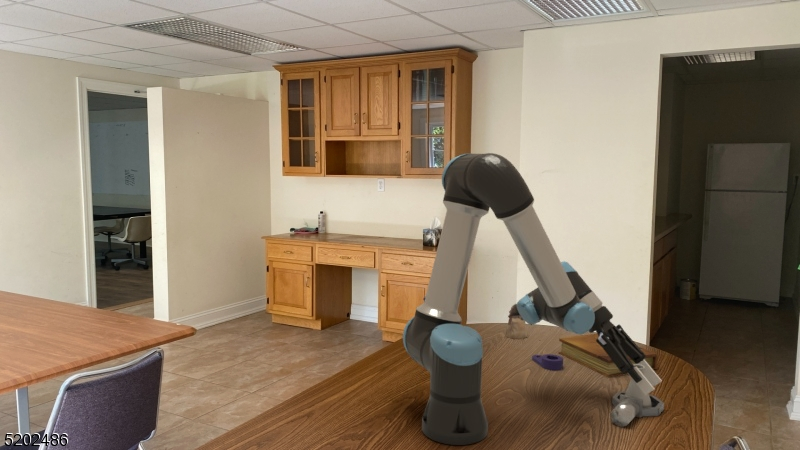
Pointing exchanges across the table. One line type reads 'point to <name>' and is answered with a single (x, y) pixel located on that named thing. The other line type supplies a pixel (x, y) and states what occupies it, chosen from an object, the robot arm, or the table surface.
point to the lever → (549, 361)
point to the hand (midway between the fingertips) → (653, 387)
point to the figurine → (516, 324)
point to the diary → (597, 354)
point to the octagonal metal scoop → (633, 408)
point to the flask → (638, 390)
